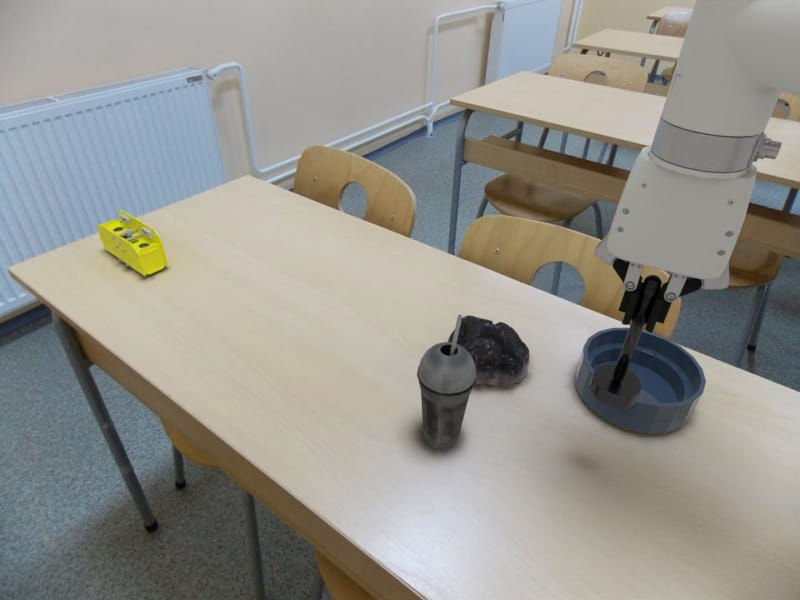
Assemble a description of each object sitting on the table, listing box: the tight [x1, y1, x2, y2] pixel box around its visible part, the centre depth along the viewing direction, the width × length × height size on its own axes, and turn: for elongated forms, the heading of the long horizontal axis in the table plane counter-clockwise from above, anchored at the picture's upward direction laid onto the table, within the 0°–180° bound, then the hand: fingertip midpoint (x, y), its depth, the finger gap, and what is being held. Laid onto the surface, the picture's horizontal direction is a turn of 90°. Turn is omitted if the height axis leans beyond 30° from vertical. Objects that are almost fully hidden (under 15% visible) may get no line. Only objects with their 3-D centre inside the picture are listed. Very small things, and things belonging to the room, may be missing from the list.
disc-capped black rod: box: [590, 274, 663, 408], centre depth 55 cm, size 5×5×16 cm
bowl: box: [574, 327, 707, 435], centre depth 75 cm, size 16×16×6 cm
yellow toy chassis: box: [96, 209, 170, 277], centre depth 102 cm, size 16×6×8 cm, turn 51°
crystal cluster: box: [447, 315, 530, 387], centre depth 79 cm, size 13×14×10 cm
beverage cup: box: [416, 314, 476, 451], centre depth 64 cm, size 7×7×20 cm
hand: (638, 320), depth 53 cm, fingers closed on disc-capped black rod
